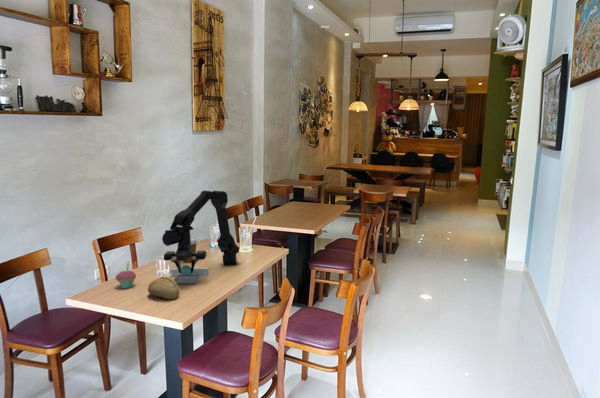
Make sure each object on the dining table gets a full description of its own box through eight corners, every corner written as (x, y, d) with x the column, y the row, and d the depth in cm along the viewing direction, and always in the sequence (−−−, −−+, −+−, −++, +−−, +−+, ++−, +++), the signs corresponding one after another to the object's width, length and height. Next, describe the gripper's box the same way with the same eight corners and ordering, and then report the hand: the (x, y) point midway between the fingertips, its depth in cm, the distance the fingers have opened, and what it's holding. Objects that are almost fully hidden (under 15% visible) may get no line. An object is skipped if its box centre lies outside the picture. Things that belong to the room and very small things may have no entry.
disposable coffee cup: (195, 263, 236) (194, 241, 234) (177, 263, 236) (176, 241, 234) (200, 258, 246) (198, 237, 244) (182, 258, 246) (181, 237, 244)
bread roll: (158, 290, 199) (157, 272, 198) (185, 295, 193) (184, 277, 192) (142, 297, 191) (141, 279, 189) (170, 303, 184) (168, 284, 183)
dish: (200, 276, 216) (200, 274, 215) (195, 284, 205) (195, 282, 204) (177, 277, 215) (177, 274, 215) (171, 285, 205) (171, 282, 204)
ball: (192, 273, 212) (192, 263, 211) (190, 277, 207) (190, 266, 206) (182, 274, 212) (181, 263, 211) (179, 277, 207) (179, 267, 206)
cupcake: (140, 284, 207) (138, 259, 205) (128, 290, 199) (125, 264, 197) (125, 282, 210) (123, 257, 208) (112, 288, 202) (110, 262, 200)
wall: (209, 274, 218) (208, 267, 218) (208, 275, 217) (208, 268, 216) (172, 275, 218) (171, 268, 217) (171, 276, 217) (170, 269, 216)
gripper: (158, 245, 199) (161, 279, 201) (201, 245, 199) (202, 278, 202) (165, 239, 210) (168, 271, 212) (205, 238, 210) (207, 270, 213)
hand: (186, 273), depth 209 cm, fingers closed on ball, 5 cm apart
